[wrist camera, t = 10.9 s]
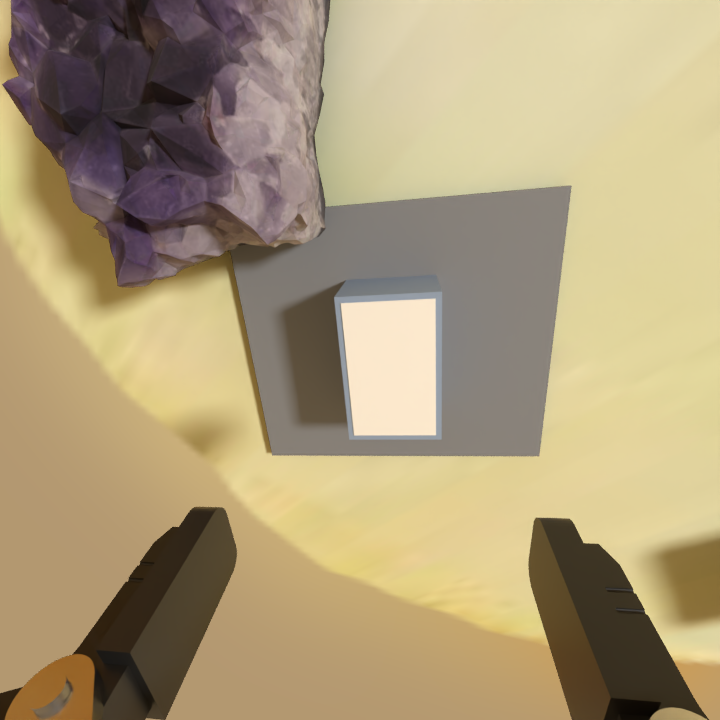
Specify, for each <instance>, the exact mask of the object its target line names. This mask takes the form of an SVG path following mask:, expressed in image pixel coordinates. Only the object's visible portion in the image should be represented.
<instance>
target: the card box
mask: <svg viewBox="0 0 720 720" xmlns="http://www.w3.org/2000/svg"><path fill="white" fill-rule="evenodd" d="M334 301H335V311H336V320H337V329H338V339H339V348H340V357H341V367H342V376H343V385H344V395H345V404H346V414H347V423H348V432H349V440H442V290H441V287H440V284H439V281H438V278H437V276H436V275H425V276H407V277H390V278H372V279H355V280H346V281H345V283H344V284H343V285H342V287H341V288H340V290H339V291H338V292H337V294H336V295H335V297H334Z"/></svg>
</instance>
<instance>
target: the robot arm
mask: <svg viewBox="0 0 720 720" xmlns="http://www.w3.org/2000/svg"><path fill="white" fill-rule="evenodd" d="M236 557H237V550H236V544H235V541H234V538H233V534H232V531H231V527H230V524H229V520H228V517H227V513H226V511H225V510H224V508H219V507H218V508H217V507H194V508H193V509H192V510H190V512H189V513H188V515H187V516H186V517H185V519H184V521H183V522H182V523H181V525H180V526H179V527H172V528H171V529H170V530H169V531H167V532H166V533H165V534H164V535H163V536H161V537H160V538H159V539H158V540H157V541H155V542H154V544H153V545H152V546H151V548H150V549H149V551H148V552H147V553H146V554H145V556H144V557H143V559H142V560H141V561H140V565H139V566H137V567H136V569H135V570H134V571H133V573H132V574H131V575H130V577H129V581H128V582H125V584H124V585H123V586H122V588H121V589H120V591H119V592H118V593H117V595H116V597H115V598H114V599H113V600H112V602H111V603H110V605H109V606H108V607H107V609H106V610H105V612H104V613H103V614H102V616H101V617H100V619H99V620H98V621H97V623H96V624H95V625H94V627H93V628H92V630H91V631H90V632H89V634H88V635H87V636H86V638H85V639H84V641H83V642H82V644H81V645H80V646H79V647H78V649H77V650H76V651H75V652H74V653H73V654H72V655H69V656H65V657H62V658H60V659H58V660H56V661H54V662H52V663H51V664H49V665H47V666H46V667H45V668H43V669H42V670H40V671H39V672H38V673H37V674H35V675H34V676H33V677H32V678H31V679H30V680H29V681H28V682H27V683H26V684H25V685H24V686H23V687H22V688H18V689H14V690H11V691H7V692H4V693H0V720H145V719H146V718H153V719H161V720H165V719H166V717H167V715H168V713H169V711H170V708H171V706H172V704H173V702H174V700H175V697H176V695H177V693H178V691H179V689H180V687H181V684H182V682H183V680H184V677H185V676H186V673H187V671H188V669H189V667H190V665H191V663H192V660H193V658H194V656H195V654H196V651H197V649H198V647H199V645H200V643H201V641H202V639H203V636H204V634H205V632H206V630H207V628H208V625H209V623H210V621H211V619H212V617H213V614H214V612H215V610H216V608H217V606H218V604H219V601H220V599H221V597H222V595H223V593H224V591H225V588H226V586H227V584H228V582H229V580H230V577H231V575H232V573H233V571H234V567H235V563H236ZM529 577H530V582H531V587H532V591H533V594H534V597H535V601H536V604H537V607H538V610H539V614H540V617H541V620H542V623H543V627H544V630H545V633H546V637H547V640H548V643H549V646H550V649H551V653H552V656H553V659H554V662H555V666H556V669H557V672H558V676H559V679H560V682H561V685H562V689H563V692H564V695H565V698H566V702H567V705H568V708H569V712H570V715H571V717H572V720H709V719H708V718H707V716H706V715H705V714H704V713H703V711H702V710H701V708H700V707H699V705H698V704H697V702H696V700H695V699H694V698H693V695H692V694H691V692H690V690H689V688H688V686H687V685H686V683H685V681H684V680H683V677H682V676H681V674H680V672H679V670H678V669H677V667H676V665H675V663H674V661H673V659H672V658H671V656H670V654H669V652H668V651H667V649H666V647H665V645H664V643H663V642H662V640H661V638H660V636H659V634H658V633H657V631H656V629H655V627H654V625H653V624H652V622H651V620H650V618H649V616H648V615H646V614H645V611H644V610H645V609H644V608H643V606H642V604H641V602H640V600H639V599H638V597H637V595H636V594H634V592H633V588H632V586H631V584H630V582H629V581H628V579H627V577H626V575H625V574H624V572H623V570H622V568H621V566H620V565H619V564H618V563H617V562H616V561H615V560H614V559H613V558H612V557H611V556H610V555H609V554H608V553H607V552H606V551H605V550H604V549H603V548H602V547H601V546H600V545H599V544H586V543H583V541H582V539H581V537H580V535H579V533H578V531H577V529H576V527H575V525H574V523H573V522H572V521H571V520H570V519H561V518H536V519H535V520H534V525H533V533H532V540H531V547H530V555H529Z"/></svg>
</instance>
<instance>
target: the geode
mask: <svg viewBox="0 0 720 720" xmlns="http://www.w3.org/2000/svg"><path fill="white" fill-rule="evenodd" d="M329 10H330V0H11V40H10V42H9V55H10V57H11V60H12V62H13V64H14V66H15V68H16V70H17V72H18V74H19V76H18V77H16V78H13V79H10V80H8V81H6V82H5V83H4V84H2V85H3V86H4V88H5V89H6V91H7V92H8V94H9V95H10V97H11V98H12V100H13V101H14V103H15V104H16V106H17V107H18V109H19V110H20V112H21V113H22V115H23V116H24V118H25V119H26V121H27V122H28V124H29V125H32V128H33V131H34V133H35V136H36V137H37V138H38V139H39V140H40V141H41V142H42V143H43V144H44V145H45V146H46V147H47V148H48V149H49V150H50V151H51V153H52V155H53V157H54V158H55V160H56V161H57V163H58V164H59V165H60V166H61V167H63V168H64V169H65V172H66V175H67V179H68V183H69V187H70V191H71V195H72V198H73V202H74V203H75V204H76V205H77V206H78V207H79V209H80V210H81V211H82V212H83V213H85V214H88V215H90V216H92V217H94V218H96V219H97V220H98V221H99V222H98V223H97V224H96V225H95V226H94V229H97V230H99V235H101V236H103V237H105V238H107V239H109V242H110V247H111V252H112V254H113V257H114V259H115V271H116V277H117V282H118V286H119V287H141V286H146V285H148V284H150V283H151V282H152V281H153V280H154V279H159V280H160V279H164V278H167V277H171V276H174V275H176V273H177V272H179V271H181V270H182V269H184V268H187V267H190V266H192V265H195V264H198V263H200V262H203V261H206V260H208V259H211V258H213V257H218V256H220V255H222V254H223V253H224V252H225V251H228V250H232V249H235V248H236V247H238V246H242V245H245V244H250V245H257V246H264V247H269V246H272V247H274V248H275V247H277V246H278V245H280V244H283V243H291V244H294V245H295V244H304V243H306V242H309V241H311V240H312V239H313V238H316V237H319V236H320V235H321V234H322V232H323V231H324V230H325V229H326V227H325V198H324V193H323V187H322V183H321V178H320V174H319V168H318V163H317V157H316V147H315V137H314V134H315V130H316V127H317V123H318V119H319V115H320V111H321V106H322V101H323V96H324V93H323V90H322V87H321V78H322V72H323V66H324V41H325V36H326V31H327V27H328V22H329Z"/></svg>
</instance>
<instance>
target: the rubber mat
mask: <svg viewBox="0 0 720 720" xmlns="http://www.w3.org/2000/svg"><path fill="white" fill-rule="evenodd" d="M570 193H571V186H561V187H549V188H538V189H526V190H515V191H503V192H492V193H481V194H469V195H458V196H446V197H435V198H423V199H412V200H400V201H389V202H377V203H366V204H354V205H343V206H331V207H325V227H326V229H325V230H324V231H323V232H322V234H321V235H320V236H319V237H316V238H313V239H312V240H311V241H309V242H306V243H304V244H295V245H294V244H291V243H283V244H280V245H278V246H277V247H275V248H274V247H272V246H269V247H264V246H257V245H250V244H245V245H242V246H238V247H236V248H235V249H232V250H230V252H231V257H232V262H233V267H234V272H235V277H236V281H237V286H238V291H239V296H240V301H241V306H242V311H243V315H244V320H245V325H246V330H247V335H248V340H249V344H250V349H251V354H252V359H253V364H254V369H255V373H256V378H257V383H258V388H259V393H260V398H261V403H262V407H263V412H264V417H265V422H266V427H267V432H268V436H269V441H270V446H271V451H272V455H324V456H539V453H540V445H541V436H542V428H543V419H544V411H545V403H546V394H547V386H548V378H549V369H550V361H551V352H552V344H553V336H554V327H555V319H556V311H557V302H558V294H559V286H560V277H561V269H562V260H563V252H564V244H565V235H566V227H567V219H568V210H569V202H570ZM425 275H436V276H437V278H438V281H439V284H440V287H441V290H442V440H349V432H348V423H347V414H346V404H345V395H344V385H343V376H342V367H341V357H340V348H339V339H338V329H337V320H336V311H335V301H334V297H335V295H336V294H337V292H338V291H339V290H340V288H341V287H342V285H343V284H344V283H345V281H346V280H355V279H372V278H390V277H407V276H425Z"/></svg>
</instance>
